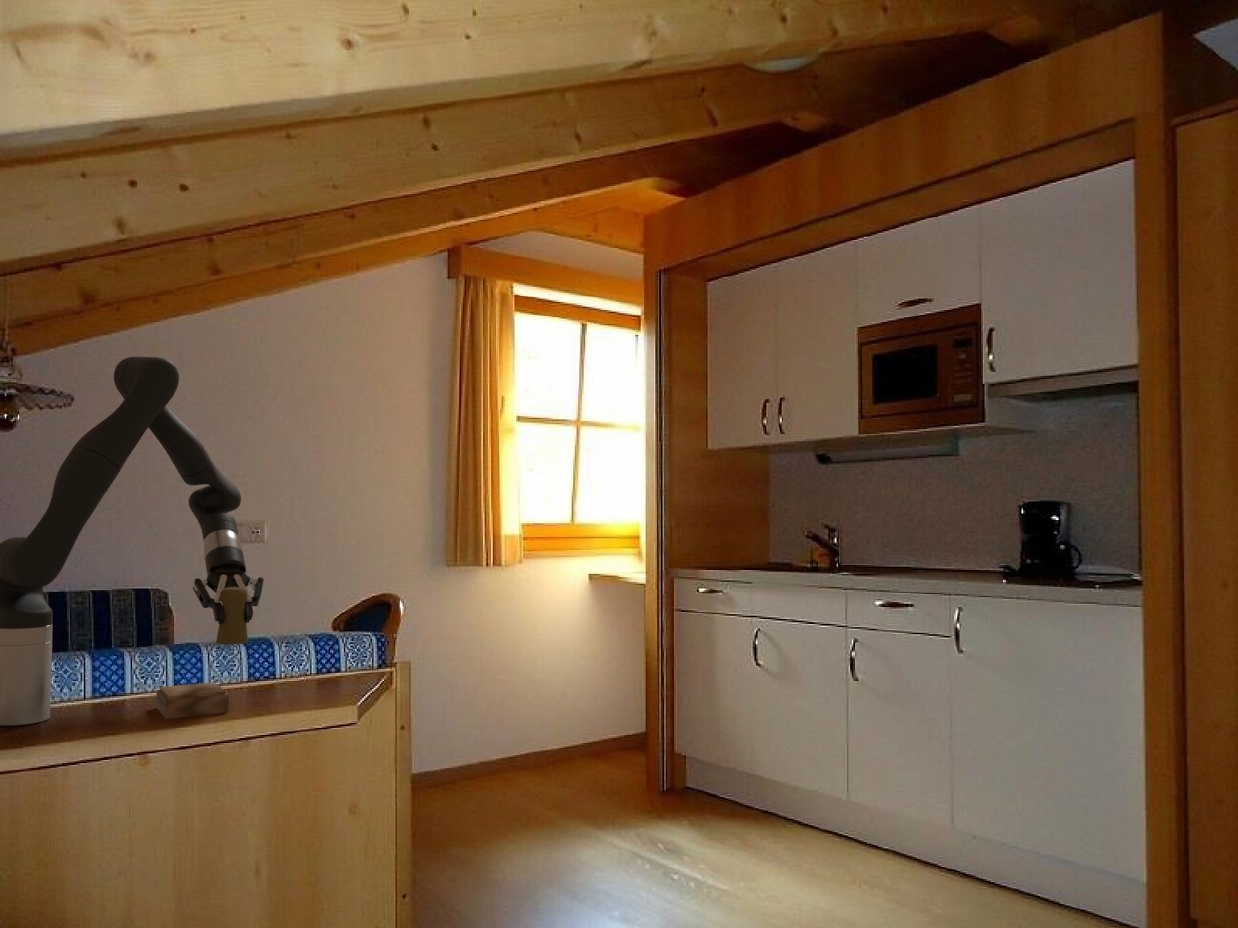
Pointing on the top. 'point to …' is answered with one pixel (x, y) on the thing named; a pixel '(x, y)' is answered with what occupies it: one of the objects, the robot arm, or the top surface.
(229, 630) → the cork
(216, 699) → the plinth
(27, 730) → the top surface
